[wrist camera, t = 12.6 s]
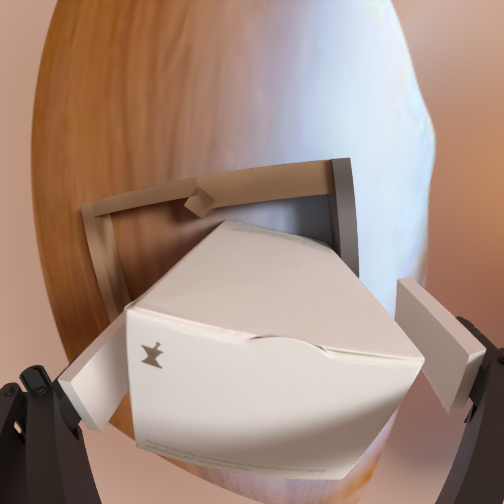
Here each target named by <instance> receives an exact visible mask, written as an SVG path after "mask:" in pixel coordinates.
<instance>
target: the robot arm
mask: <svg viewBox="0 0 504 504" xmlns="http://www.w3.org/2000/svg"><path fill="white" fill-rule="evenodd" d="M395 321H396V323H397V324H398V325H399V326H400V327H401V329H402V330H403V331H404V332H405V334H406V335H407V336H408V337H409V339H410V340H411V341H412V342H413V344H414V345H415V346H416V347H417V349H418V350H419V351H420V352H421V354H422V355H423V356H424V358H425V361H424V364H423V365H422V367H421V370H422V372H423V373H424V375H425V376H426V378H427V380H428V381H429V383H430V384H431V386H432V388H433V389H434V391H435V393H436V395H437V396H438V398H439V400H440V402H441V403H442V405H443V407H444V409H445V410H446V412H447V414H451V413H453V412H456V411H458V410H461V409H463V408H464V407H465V405H466V402H467V400H468V398H469V397H470V399H471V400H472V402H473V405H472V407H471V409H470V411H469V413H468V415H467V417H466V419H465V421H464V423H467V424H466V427H465V430H464V434H463V437H462V440H461V443H460V446H459V449H458V452H457V454H456V457H455V460H454V462H453V465H452V468H451V470H450V473H449V475H448V477H447V480H446V482H445V484H444V486H443V488H442V491H441V493H440V495H439V497H438V499H437V501H436V503H435V504H502V503H503V500H504V348H500V349H497V348H496V347H495V346H494V345H493V344H492V343H491V342H490V341H489V340H488V339H487V338H486V337H485V336H484V335H483V334H482V333H480V331H479V330H478V329H477V328H475V326H474V325H473V324H472V323H471V322H469V321H468V320H466V319H464V318H462V317H459V316H458V317H454V316H453V315H452V314H451V313H449V311H448V310H446V309H445V308H444V307H443V306H442V305H441V304H440V303H439V302H438V301H437V300H436V299H434V298H433V297H432V296H431V295H430V294H429V293H428V292H427V291H426V290H424V289H423V288H422V287H421V286H420V285H419V284H418V283H416V282H415V281H414V280H413V279H412V278H411V277H409V278H403V279H397V295H396V310H395ZM19 378H20V380H21V381H22V383H23V385H24V387H25V388H26V390H27V392H23V391H22V390H21V388H20V386H19V385H18V384H17V383H13V382H12V383H8V384H7V385H6V384H5V385H4V386H3V387H2V388H1V389H0V504H102V503H101V500H100V497H99V494H98V491H97V488H96V485H95V482H94V478H93V475H92V472H91V468H90V464H89V461H88V456H87V452H86V448H85V444H84V439H83V435H82V430H81V428H80V426H79V425H78V423H79V422H80V421H81V419H82V421H83V422H84V424H85V425H86V426H87V428H88V429H90V430H94V431H97V432H102V431H103V429H104V428H105V426H106V424H107V423H108V421H109V420H110V418H111V416H112V415H113V413H114V412H115V410H116V408H117V407H118V405H119V404H120V402H121V400H122V399H123V397H124V396H125V394H126V393H127V391H128V389H129V388H128V379H127V368H126V356H125V336H124V311H123V312H122V313H121V314H120V315H119V316H118V317H117V318H116V319H115V320H114V321H113V322H112V323H111V324H110V325H109V326H108V327H107V328H106V329H105V330H104V331H103V332H102V333H101V334H100V335H99V336H98V337H97V338H96V339H95V340H94V341H93V342H92V343H91V344H90V345H89V346H88V347H87V348H86V349H85V350H84V351H83V352H82V353H81V354H79V355H78V356H77V357H76V358H75V359H74V360H73V361H72V362H71V363H70V364H69V365H68V368H67V367H66V369H64V370H63V372H62V373H61V374H60V375H59V376H58V377H57V378H56V379H55V380H54V381H53V382H51V380H50V378H49V376H48V374H47V372H46V371H45V369H44V367H43V366H41V365H34V366H31V367H29V368H27V369H26V370H24V371H23V372H22V373H21V374H20V377H19ZM15 422H16V423H17V424H18V426H19V427H20V429H21V433H18V431H17V430H16V429H15V428H14V423H15Z"/></svg>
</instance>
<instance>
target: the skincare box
mask: <svg viewBox="0 0 504 504" xmlns="http://www.w3.org/2000/svg"><path fill="white" fill-rule="evenodd" d="M124 336H125V356H126V368H127V379H128V388H129V396H130V404H131V411H132V419H133V427H134V434H135V441H136V447H138V448H140V449H144V450H147V451H149V452H152V453H156V454H159V455H162V456H165V457H169V458H173V459H176V460H180V461H184V462H188V463H192V464H196V465H200V466H205V467H209V468H214V469H220V470H225V471H231V472H237V473H244V474H252V475H260V476H268V477H279V478H293V479H342V478H343V477H344V476H345V475H346V474H347V473H348V472H349V471H350V470H351V469H352V468H353V466H354V465H355V464H356V463H357V461H358V460H359V459H360V458H361V456H362V455H363V454H364V453H365V451H366V450H367V448H368V447H369V446H370V444H371V443H372V442H373V441H374V439H375V438H376V437H377V435H378V434H379V433H380V431H381V430H382V429H383V427H384V426H385V424H386V423H387V422H388V420H389V419H390V417H391V416H392V414H393V413H394V411H395V410H396V408H397V407H398V405H399V404H400V402H401V401H402V399H403V398H404V396H405V394H406V393H407V391H408V389H409V388H410V386H411V384H412V383H413V381H414V379H415V378H416V376H417V374H418V372H419V371H420V369H421V367H422V365H423V364H424V361H425V358H424V356H423V355H422V354H421V352H420V351H419V350H418V349H417V347H416V346H415V345H414V344H413V342H412V341H411V340H410V339H409V337H408V336H407V335H406V334H405V332H404V331H403V330H402V329H401V327H400V326H399V325H398V324H397V323H396V321H395V320H394V319H393V318H392V317H391V316H390V314H389V313H388V312H387V311H386V310H385V308H384V307H383V306H382V305H381V304H380V303H379V301H378V300H377V299H376V298H375V297H374V296H373V294H372V293H371V292H370V291H369V290H368V289H367V288H366V286H365V285H364V284H363V283H362V282H361V281H360V280H359V279H358V277H357V276H356V275H355V274H354V273H353V272H352V271H351V270H350V268H349V267H348V266H347V265H346V264H345V263H344V262H343V261H342V260H341V259H340V257H339V256H338V255H337V254H336V253H335V252H334V251H333V250H332V249H331V248H330V247H329V245H328V244H327V243H326V242H324V241H320V240H317V239H312V238H308V237H304V236H300V235H295V234H291V233H286V232H282V231H277V230H273V229H268V228H263V227H258V226H254V225H249V224H244V223H238V222H232V221H227V220H225V221H223V222H222V223H221V224H220V225H219V226H218V227H217V228H215V229H214V230H213V231H212V232H211V233H210V234H209V235H208V236H207V237H205V238H204V239H203V240H202V241H201V242H200V243H199V244H198V245H196V246H195V247H194V248H193V249H192V250H191V251H190V252H189V253H187V254H186V255H185V256H184V257H183V258H182V259H181V260H180V261H179V262H178V263H177V264H175V265H174V266H173V267H172V268H171V269H170V270H169V271H168V272H167V273H166V274H165V275H164V276H163V277H162V278H160V279H159V280H158V281H157V282H156V283H155V284H154V285H153V286H152V287H150V288H149V289H148V290H147V291H146V292H145V293H144V294H142V295H141V296H140V297H139V298H137V299H136V300H135V301H133V302H131V303H130V304H128V305H127V306H125V308H124Z"/></svg>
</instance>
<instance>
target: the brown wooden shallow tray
mask: <svg viewBox="0 0 504 504" xmlns="http://www.w3.org/2000/svg"><path fill="white" fill-rule="evenodd" d="M321 194H328V198H329V208H330V218H331V229H332V242H333V251H334V252H335V253H336V254H337V255H338V256H339V257H340V259H341V260H342V261H343V262H344V263H345V264H346V265H347V266H348V267H349V268H350V270H351V271H352V272H353V273H354V274H355V275H356V276H357V277H358V279H359V256H358V235H357V220H356V207H355V196H354V186H353V177H352V169H351V161H350V158H339V159H331V160H319V161H309V162H299V163H290V164H281V165H273V166H265V167H258V168H251V169H244V170H237V171H231V172H224V173H218V174H213V175H207V176H201V177H196V178H191V179H185V180H180V181H175V182H170V183H166V184H161V185H156V186H152V187H147V188H143V189H138V190H134V191H130V192H126V193H122V194H118V195H114V196H110V197H106V198H102V199H99V200H95V201H91V202H88V203H84V204H81V211H82V217H83V222H84V227H85V232H86V237H87V241H88V246H89V250H90V254H91V258H92V262H93V266H94V270H95V274H96V278H97V281H98V285H99V288H100V292H101V295H102V298H103V301H104V305H105V308H106V311H107V314H108V317H109V320H110V323H112V322H113V321H114V320H115V319H116V318H117V317H118V316H119V315H120V314H121V313H122V312H123V311H124V308H125V306H127V305H128V304H130V303H131V299H130V295H129V292H128V288H127V284H126V281H125V277H124V273H123V269H122V265H121V261H120V257H119V253H118V248H117V244H116V239H115V234H114V229H113V224H112V219H111V214H110V213H112V212H116V211H120V210H125V209H130V208H134V207H139V206H144V205H149V204H154V203H159V202H164V201H169V200H175V199H180V198H186V197H189V198H188V200H187V201H186V203H185V204H184V206H185V207H187V208H188V209H189V210H191V211H192V212H193V213H195V214H196V215H197V216H199V217H200V218H201V219H204V218H206V217H208V216H209V215H211V214H212V212H213V211H214V210H215V208H218V207H224V206H231V205H238V204H246V203H253V202H261V201H269V200H277V199H285V198H294V197H303V196H312V195H321Z"/></svg>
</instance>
